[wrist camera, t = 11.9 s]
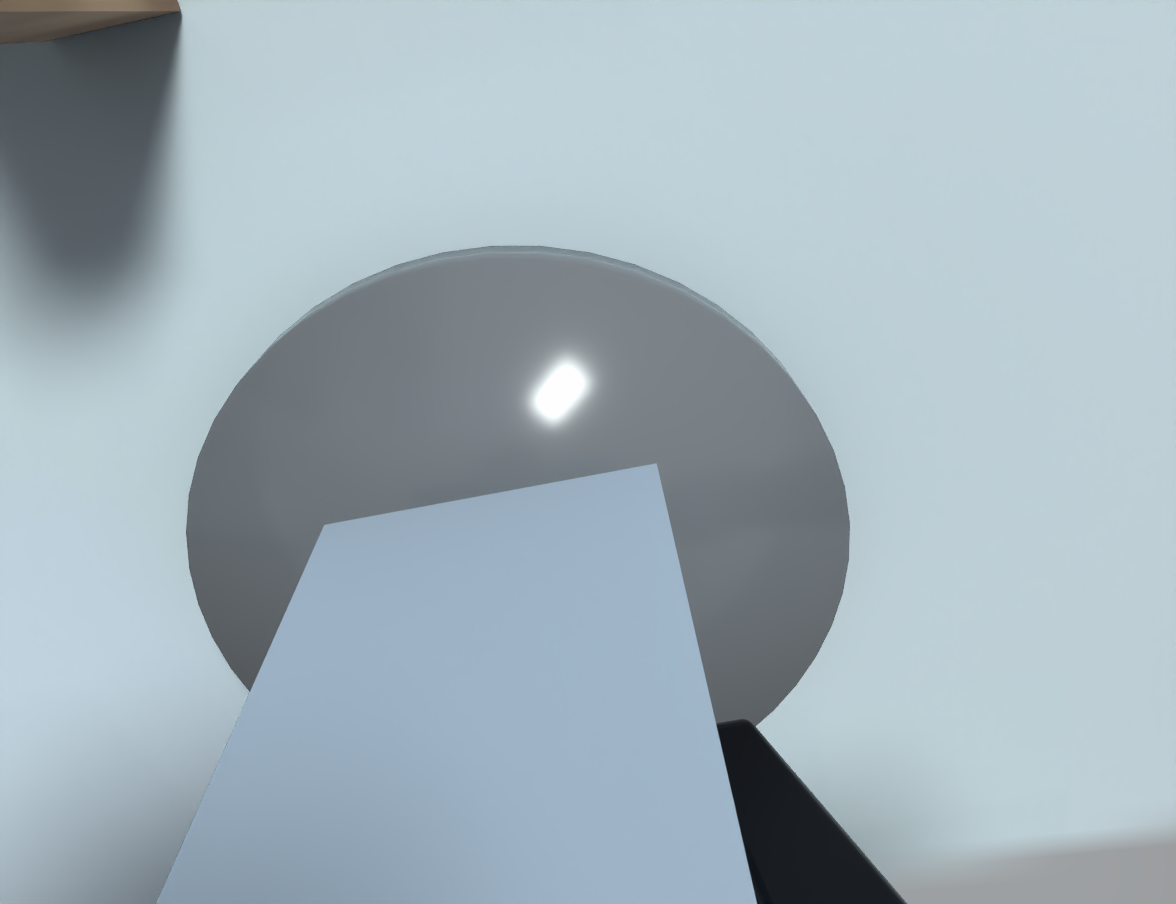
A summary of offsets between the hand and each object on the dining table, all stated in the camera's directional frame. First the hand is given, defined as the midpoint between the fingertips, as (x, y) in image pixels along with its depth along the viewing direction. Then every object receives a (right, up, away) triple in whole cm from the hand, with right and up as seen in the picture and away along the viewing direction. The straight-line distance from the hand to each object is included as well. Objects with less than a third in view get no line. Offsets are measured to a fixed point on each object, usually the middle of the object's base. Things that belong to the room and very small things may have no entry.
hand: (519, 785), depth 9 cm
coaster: (0, +2, +4) cm, 4 cm away
